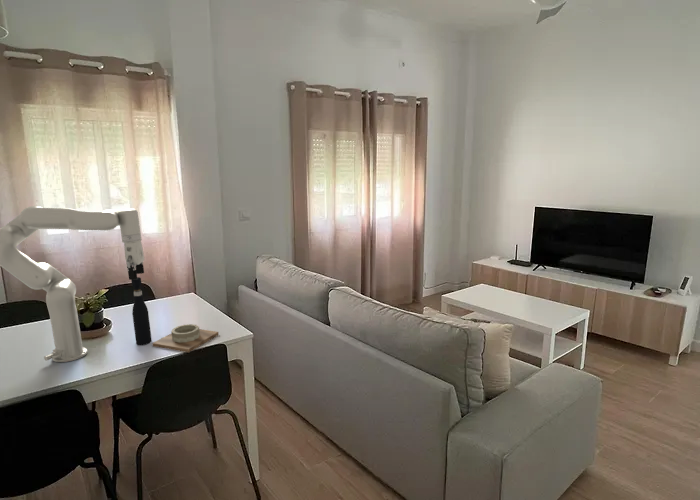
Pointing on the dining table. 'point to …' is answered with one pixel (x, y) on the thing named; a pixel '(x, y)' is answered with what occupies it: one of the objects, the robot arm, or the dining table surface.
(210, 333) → the bottle stand
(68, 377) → the dining table surface
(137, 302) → the wine bottle
